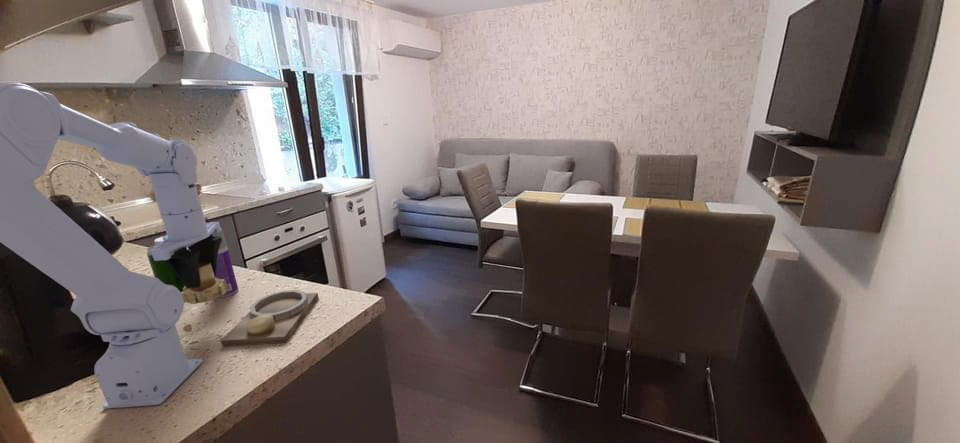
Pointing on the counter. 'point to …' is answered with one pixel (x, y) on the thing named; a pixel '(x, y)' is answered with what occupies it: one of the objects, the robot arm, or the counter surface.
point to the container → (225, 267)
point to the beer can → (164, 271)
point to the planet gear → (205, 286)
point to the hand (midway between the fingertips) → (202, 281)
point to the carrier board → (280, 324)
